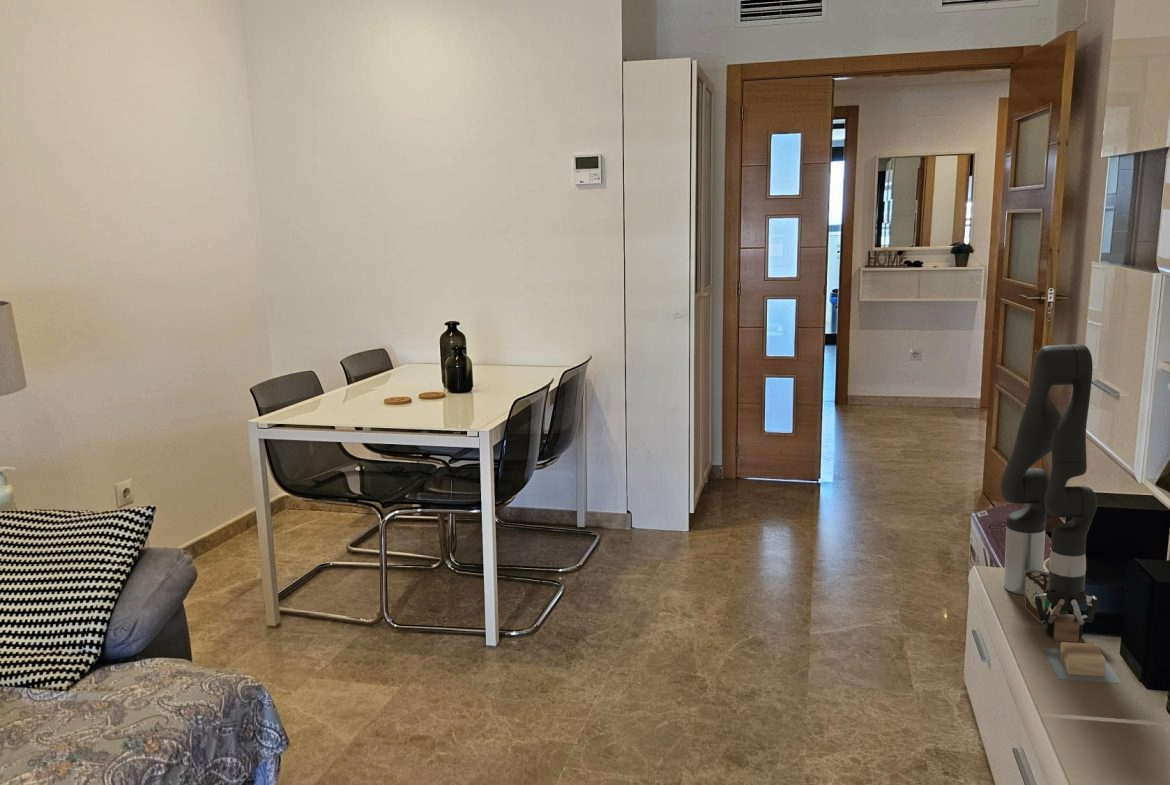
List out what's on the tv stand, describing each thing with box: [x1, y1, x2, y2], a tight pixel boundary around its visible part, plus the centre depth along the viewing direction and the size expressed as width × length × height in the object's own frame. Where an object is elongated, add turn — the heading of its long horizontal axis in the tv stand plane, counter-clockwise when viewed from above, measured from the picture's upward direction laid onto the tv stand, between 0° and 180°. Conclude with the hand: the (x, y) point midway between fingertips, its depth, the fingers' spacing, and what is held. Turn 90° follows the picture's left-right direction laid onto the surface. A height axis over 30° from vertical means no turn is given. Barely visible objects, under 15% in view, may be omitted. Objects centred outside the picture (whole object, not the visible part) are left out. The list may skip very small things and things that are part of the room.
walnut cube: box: [1052, 613, 1080, 643], centre depth 211 cm, size 5×5×5 cm
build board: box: [1042, 647, 1122, 684], centre depth 198 cm, size 14×12×1 cm
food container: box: [1024, 570, 1051, 625], centre depth 222 cm, size 12×6×10 cm, turn 179°
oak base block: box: [1060, 641, 1106, 676], centre depth 196 cm, size 7×7×4 cm
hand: (1063, 636), depth 211 cm, fingers closed on walnut cube, 5 cm apart
